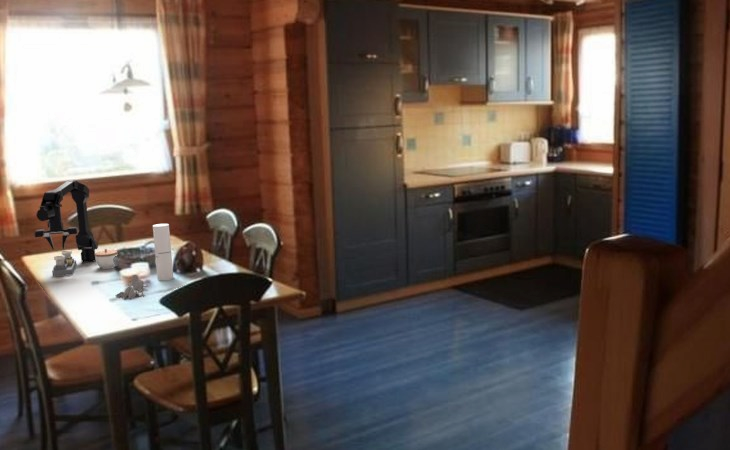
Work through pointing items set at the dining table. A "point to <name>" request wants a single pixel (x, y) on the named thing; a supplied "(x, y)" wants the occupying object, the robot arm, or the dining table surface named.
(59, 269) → the mount
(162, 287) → the dining table surface
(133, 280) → the grey lumpy piece
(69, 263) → the metal knob
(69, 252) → the white round cap
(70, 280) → the dining table surface
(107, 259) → the lidded jar
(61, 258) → the knob
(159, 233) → the cylindrical container
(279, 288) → the dining table surface
